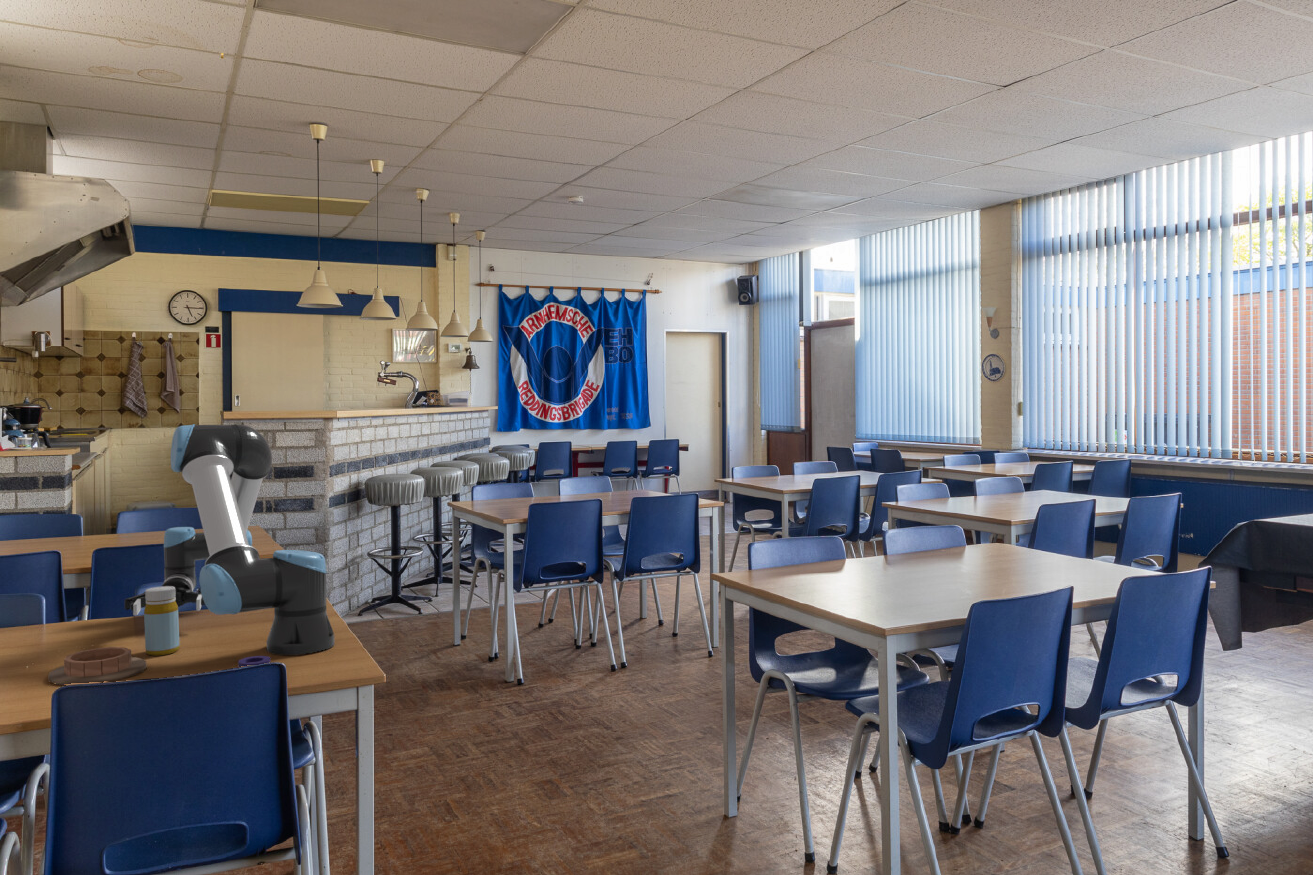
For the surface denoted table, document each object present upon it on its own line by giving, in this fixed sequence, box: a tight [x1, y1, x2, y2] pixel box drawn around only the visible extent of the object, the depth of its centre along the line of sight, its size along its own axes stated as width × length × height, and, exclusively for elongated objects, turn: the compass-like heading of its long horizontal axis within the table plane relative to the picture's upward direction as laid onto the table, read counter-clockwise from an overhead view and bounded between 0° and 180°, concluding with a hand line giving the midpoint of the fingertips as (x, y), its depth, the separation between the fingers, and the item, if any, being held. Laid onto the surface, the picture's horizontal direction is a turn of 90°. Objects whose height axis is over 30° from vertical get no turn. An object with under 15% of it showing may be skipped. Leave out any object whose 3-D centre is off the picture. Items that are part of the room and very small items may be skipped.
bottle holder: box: [47, 646, 147, 686], centre depth 193 cm, size 18×18×4 cm
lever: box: [237, 655, 271, 668], centre depth 190 cm, size 12×6×3 cm, turn 160°
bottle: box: [143, 585, 181, 657], centre depth 209 cm, size 7×7×15 cm
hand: (166, 607), depth 218 cm, fingers open, 13 cm apart
